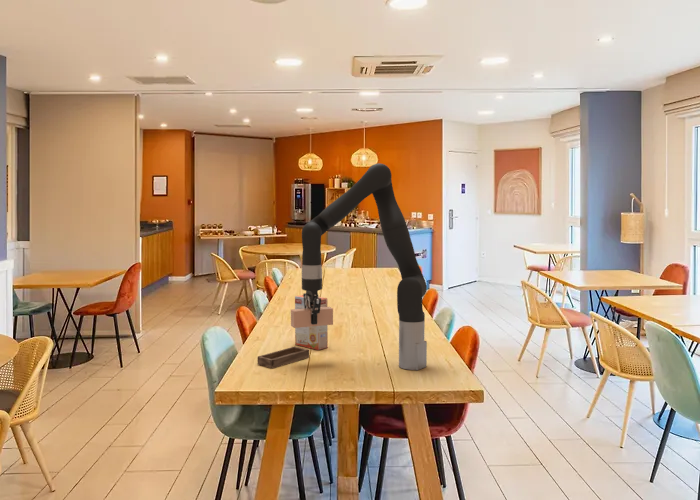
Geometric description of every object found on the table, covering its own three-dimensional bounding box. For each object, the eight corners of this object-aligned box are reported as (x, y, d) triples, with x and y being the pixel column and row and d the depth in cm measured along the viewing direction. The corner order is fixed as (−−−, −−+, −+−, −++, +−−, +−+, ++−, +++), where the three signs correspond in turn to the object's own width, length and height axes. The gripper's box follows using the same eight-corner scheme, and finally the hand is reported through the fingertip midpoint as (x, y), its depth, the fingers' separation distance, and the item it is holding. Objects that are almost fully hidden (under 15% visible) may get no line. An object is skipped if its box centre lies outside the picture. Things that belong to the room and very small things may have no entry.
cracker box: (328, 348, 238) (328, 297, 236) (317, 350, 233) (317, 299, 231) (305, 342, 247) (304, 293, 245) (294, 344, 243) (294, 295, 241)
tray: (309, 357, 224) (309, 349, 223) (272, 368, 209) (272, 360, 209) (294, 353, 229) (294, 346, 229) (257, 364, 215) (257, 356, 214)
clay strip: (329, 322, 219) (329, 306, 218) (333, 324, 215) (333, 308, 214) (290, 325, 213) (290, 309, 213) (294, 327, 210) (293, 311, 209)
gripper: (328, 278, 207) (328, 326, 209) (315, 273, 220) (315, 318, 222) (308, 280, 205) (308, 327, 206) (296, 274, 218) (296, 319, 219)
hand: (312, 322), depth 214 cm, fingers closed on clay strip, 4 cm apart
